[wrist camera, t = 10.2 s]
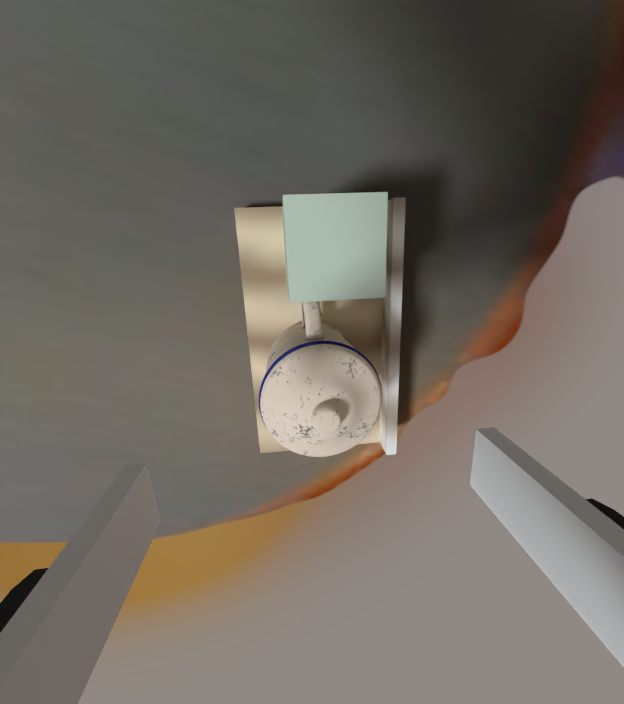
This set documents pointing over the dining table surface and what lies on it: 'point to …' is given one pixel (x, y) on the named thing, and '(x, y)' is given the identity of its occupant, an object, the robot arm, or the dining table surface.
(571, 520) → the robot arm
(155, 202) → the dining table surface
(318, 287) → the tin
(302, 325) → the teacup with lid
